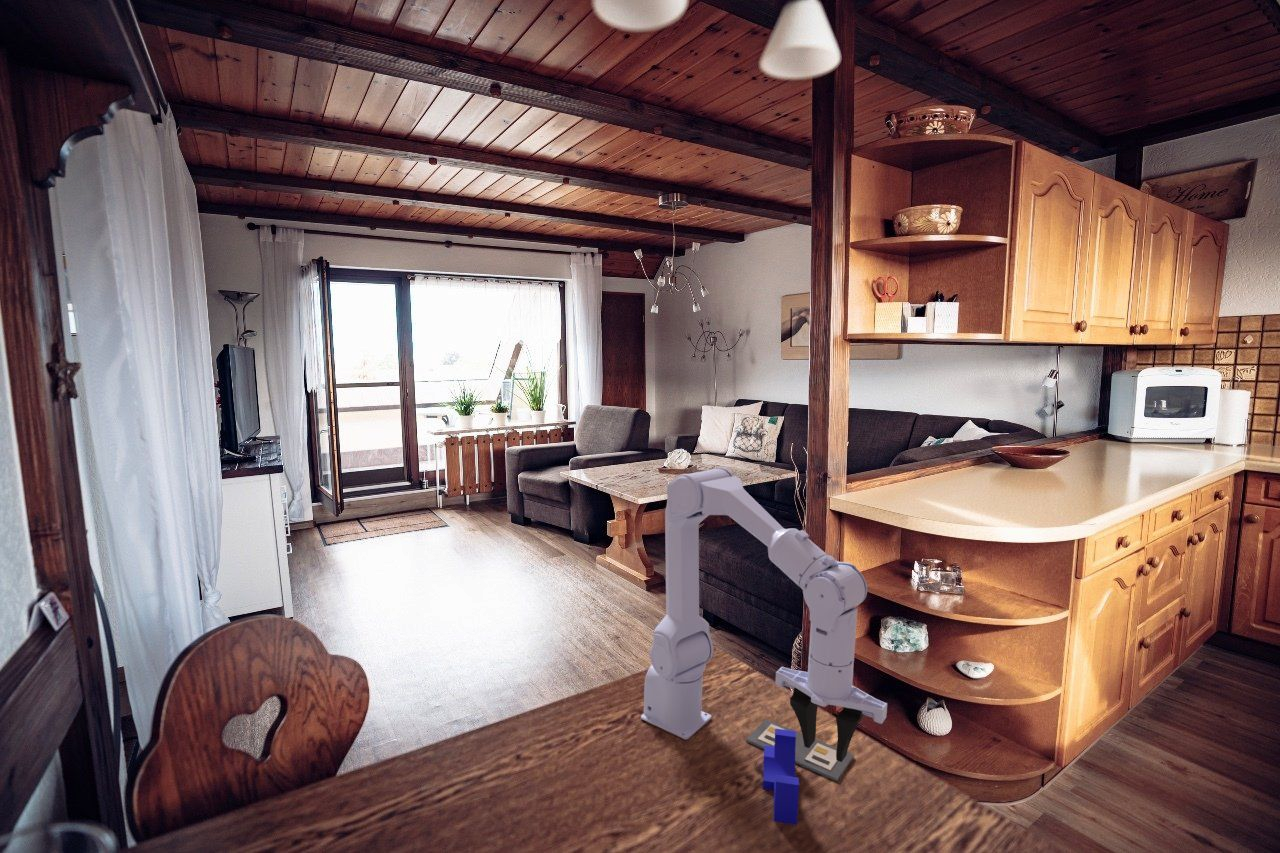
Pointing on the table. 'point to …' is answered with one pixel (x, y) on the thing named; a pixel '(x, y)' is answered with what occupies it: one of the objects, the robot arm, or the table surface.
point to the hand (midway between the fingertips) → (825, 750)
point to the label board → (804, 751)
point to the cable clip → (782, 776)
